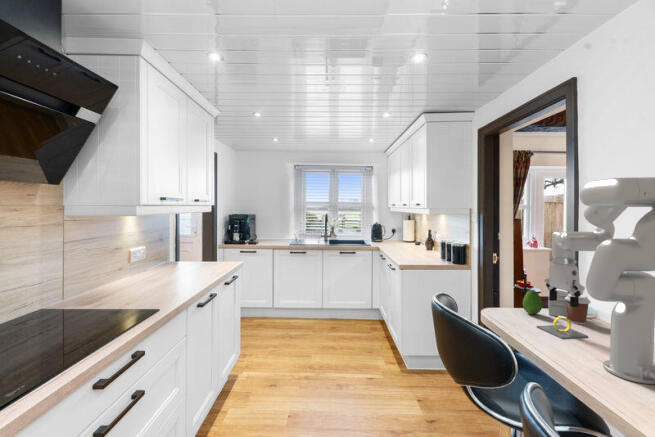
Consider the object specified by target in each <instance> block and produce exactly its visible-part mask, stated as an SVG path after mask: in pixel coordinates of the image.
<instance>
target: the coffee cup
mask: <svg viewBox="0 0 655 437" xmlns="http://www.w3.org/2000/svg"><path fill="white" fill-rule="evenodd" d="M570 296H571V294H570V293H568V296H567V297H565V300H567V319H568V320H569V321H570V323H571V324H572V323H573V324H576V325H577V324H578V325H587V319H588V312H589V304H591V302H592V301H591V300H590V299H589V298H588V296H587V295H584V294H581V295H580V297H579V306H578V307H571V306H570Z"/></svg>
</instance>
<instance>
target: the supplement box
mask: <svg viewBox="0 0 655 437" xmlns="http://www.w3.org/2000/svg"><path fill="white" fill-rule="evenodd" d="M555 291H557V300H556V301H550V300H549V299H548V316H554V317H558V316H564V317H566V318H567V319H568V313H567V300H565V297H567V296H568V294H569V291H566V290H562V289H558V288H557V289H556V290H555Z"/></svg>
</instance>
